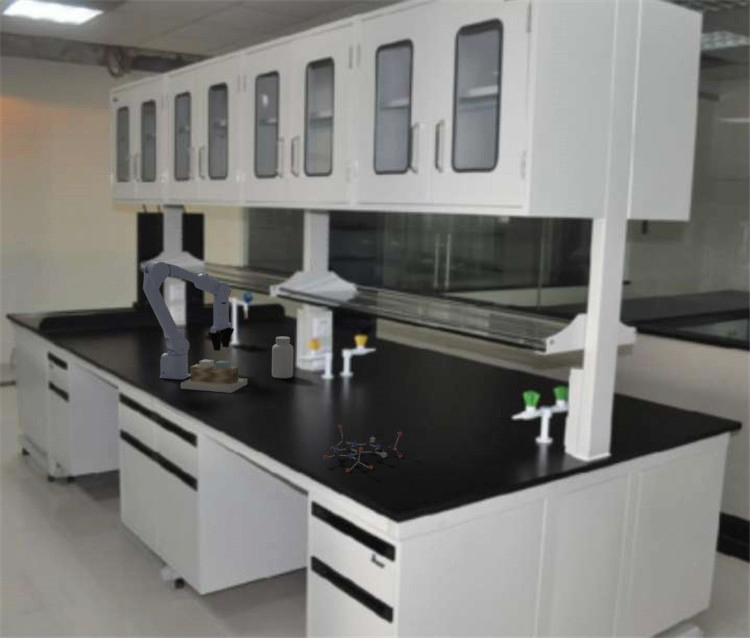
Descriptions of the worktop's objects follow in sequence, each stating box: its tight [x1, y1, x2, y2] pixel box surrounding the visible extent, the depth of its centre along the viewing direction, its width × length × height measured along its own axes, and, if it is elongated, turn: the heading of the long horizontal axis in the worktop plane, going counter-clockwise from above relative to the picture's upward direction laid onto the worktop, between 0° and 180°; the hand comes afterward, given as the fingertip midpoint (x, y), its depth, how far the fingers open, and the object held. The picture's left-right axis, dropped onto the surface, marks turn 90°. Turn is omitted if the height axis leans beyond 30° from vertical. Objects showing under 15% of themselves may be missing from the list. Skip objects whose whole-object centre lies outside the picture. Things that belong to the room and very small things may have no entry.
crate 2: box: [214, 360, 231, 369], centre depth 284 cm, size 4×4×2 cm
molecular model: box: [322, 424, 403, 473], centre depth 211 cm, size 24×7×20 cm
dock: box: [180, 377, 248, 394], centre depth 286 cm, size 19×14×2 cm
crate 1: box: [198, 358, 215, 368], centre depth 286 cm, size 4×4×2 cm
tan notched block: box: [189, 363, 239, 384], centre depth 285 cm, size 16×5×5 cm, turn 76°
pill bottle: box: [271, 335, 294, 379], centre depth 303 cm, size 8×8×15 cm
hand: (221, 348), depth 306 cm, fingers open, 7 cm apart
